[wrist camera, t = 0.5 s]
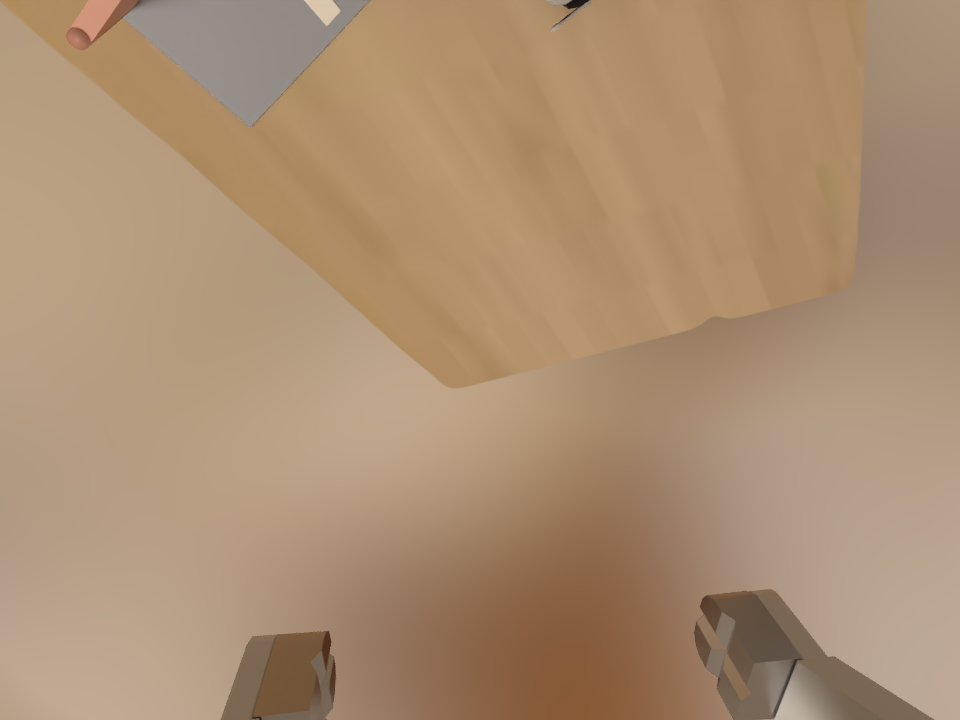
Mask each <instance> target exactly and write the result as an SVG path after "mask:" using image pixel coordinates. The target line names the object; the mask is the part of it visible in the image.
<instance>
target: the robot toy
mask: <svg viewBox="0 0 960 720" xmlns="http://www.w3.org/2000/svg"><path fill="white" fill-rule="evenodd" d="M546 1H548V2H549V3H551V4H552V5H554V6H557V5H563V6H565V7H566V8H568V9H571V8H576V7H578V8H576V9H575V10H574V11H573V12H571V13H570V14H569V15H568V16H566V17H565V18H564V19H562V20H561V21H560V22H559V23H556V24H555V25H554V26H553V27H552V28H551V31H555V30H557V29H558V28H559V27H560V26H561V25H562V24H563V23H564V22H566V21H567V20H568V19H569V18H571V17H572V16H573V15H574V14H576V13H577V12H578V11H580V10H581V9H582V8H586V7H587V6H588V5H590V4H591V1H590V0H546Z"/></svg>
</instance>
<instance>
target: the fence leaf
mask: <svg viewBox="0 0 960 720" xmlns="http://www.w3.org/2000/svg"><path fill="white" fill-rule="evenodd" d="M138 1H139V0H89V1H88V2H87V4H86V5H85V7H84V8H83V10H82V11H81V13H80V14H79V16H78V17H77V19H76V20H75V22H74V23H73V25H72V28H71V29H70V30H68V31H67V33H66V38H67V40H68V42H69V43H70V44H71V45H72V46H73V47H74V48H76V49H79V50H85V49H87V48H88V47H89V46H90V45H91V44H92V43H94V42H95V41H96V40H97V39H98V38H100V37H101V36H102V35H103V34H104V33H105V32H107V31H108V30H109V29H110V28H111V27H112V26H114V25H115V24H116V23H117V22H118V21H120V20H121V19H122V18H123V17H124V16H125V15H127V14H128V13H129V12H130V11H131V10H132V9H133V8H134V6H135V5H136V3H137V2H138Z"/></svg>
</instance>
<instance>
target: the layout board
mask: <svg viewBox="0 0 960 720" xmlns="http://www.w3.org/2000/svg"><path fill="white" fill-rule="evenodd" d="M369 1H370V0H139V1H138V2H137V3H136V5H135V6H134V8H133V9H132V10H131V11H130V12H129V13H128V14H127V15H125V16H124V17H123V18H124V19H125V20H126V21H127V22H128V23H129V24H130V25H132V26H133V27H134V28H135V29H136V30H137V31H139V32H140V33H141V34H142V35H143V36H144V37H146V38H147V39H148V40H149V41H150V42H151V43H152V44H154V45H155V46H156V47H157V48H158V49H159V50H161V51H162V52H163V53H164V54H165V55H166V56H167V57H169V58H170V59H171V60H172V61H173V62H174V63H176V64H177V65H178V66H179V67H180V68H181V69H183V70H184V71H185V72H186V73H187V74H188V75H189V76H191V77H192V78H193V79H194V80H195V81H196V82H198V83H199V84H200V85H201V86H202V87H203V88H205V89H206V90H207V91H208V92H209V93H210V94H211V95H213V96H214V97H215V98H216V99H217V100H218V101H220V102H221V103H222V104H223V105H224V106H225V107H227V108H228V109H229V110H230V111H231V112H232V113H233V114H235V115H236V116H237V117H238V118H239V119H240V120H242V121H243V122H244V123H245V124H246V125H247V126H248V127H251V126H252V125H253V124H254V123H255V122H256V121H257V120H258V119H259V118H260V117H261V116H262V115H263V114H264V113H265V111H266V110H267V109H268V108H269V107H270V106H271V105H272V104H273V103H274V102H275V101H276V100H277V99H278V98H279V97H280V95H281V94H282V93H283V92H284V91H285V90H286V89H287V88H288V87H289V86H290V85H291V84H292V83H293V82H294V81H295V79H296V78H297V77H298V76H299V75H300V74H301V73H302V72H303V71H304V70H305V69H306V68H307V67H308V66H309V65H310V63H311V62H312V61H313V60H314V59H315V58H316V57H317V56H318V55H319V54H320V53H321V52H322V51H323V50H324V49H325V47H326V46H327V45H328V44H329V43H330V42H331V41H332V40H333V39H334V38H335V37H336V36H337V35H338V34H339V33H340V31H341V30H342V29H343V28H344V27H345V26H346V25H347V24H348V23H349V22H350V21H351V20H352V19H353V18H354V17H355V15H356V14H357V13H358V12H359V11H360V10H361V9H362V8H363V7H364V6H365V5H366V4H367V3H368V2H369Z"/></svg>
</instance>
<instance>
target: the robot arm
mask: <svg viewBox="0 0 960 720" xmlns="http://www.w3.org/2000/svg"><path fill="white" fill-rule="evenodd" d="M700 608H701V610H702V611H703V613H704V615H703V616H702V617H701V618H700V619H698V620H697V622H696V626H695V631H694V635H695V642H696V647H697V650H698V653H699V655H700V658H701V660H702V662H703V664H704V666H705V668H706V669H707V670H709V671H710V672H711V673H713V674H714V675H715V676H716V677H718V684H717V690H718V692H719V694H720V696H721V697H722V699H723V701H724V703H725V705H726V707H727V709H728V710H729V712H730V714H731V716H732V718H733V720H761V719H772V718H775V719H774V720H934V719H932V718H931V717H929V716H927V715H926V714H924V713H922V712H921V711H919V710H918V709H916V708H915V707H913V706H912V705H910V704H909V703H907V702H905V701H904V700H902V699H901V698H899V697H897V696H896V695H894V694H893V693H891V692H890V691H888V690H886V689H885V688H883V687H882V686H880V685H879V684H877V683H875V682H874V681H872V680H871V679H869V678H868V677H866V676H864V675H863V674H861V673H860V672H858V671H856V670H855V669H853V668H852V667H850V666H849V665H847V664H845V663H844V662H842V661H841V660H839V659H837V658H836V657H827V655H826V654H825V653H824V652H823V650H822V649H821V648H820V646H818V644H817V643H816V641H815V640H814V639H813V638H812V637H811V635H810V634H809V633H808V631H807V630H806V629H805V628H804V626H803V625H802V624H801V623H800V621H799V620H798V619H797V617H796V616H795V615H794V614H793V612H792V611H791V610H790V608H789V607H788V606H787V605H786V603H785V602H784V601H783V600H782V598H781V597H780V596H779V595H778V594H777V593H776V592H775V591H773V590H770V589H769V590H758V591H749V592H748V591H741V592H732V593H723V594H714V595H707V596H705V597H704V598H703V599H702V602H701V605H700ZM330 647H331V638H330V634H329V631H324V632H309V633H293V634H277V635H266V636H253V637H252V638H251V639H250V641H249V643H248V644H247V646H246V649H245V652H244V655H243V657H242V660H241V663H240V666H239V669H238V672H237V675H236V677H235V680H234V683H233V686H232V689H231V692H230V695H229V698H228V700H227V703H226V706H225V709H224V712H223V715H222V718H221V720H326V716H327V715H328V713H329V712H330V711H331V710H332V708H333V702H334V694H335V680H336V670H335V660H334V657H333V656H332V655H331V654H330Z"/></svg>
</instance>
